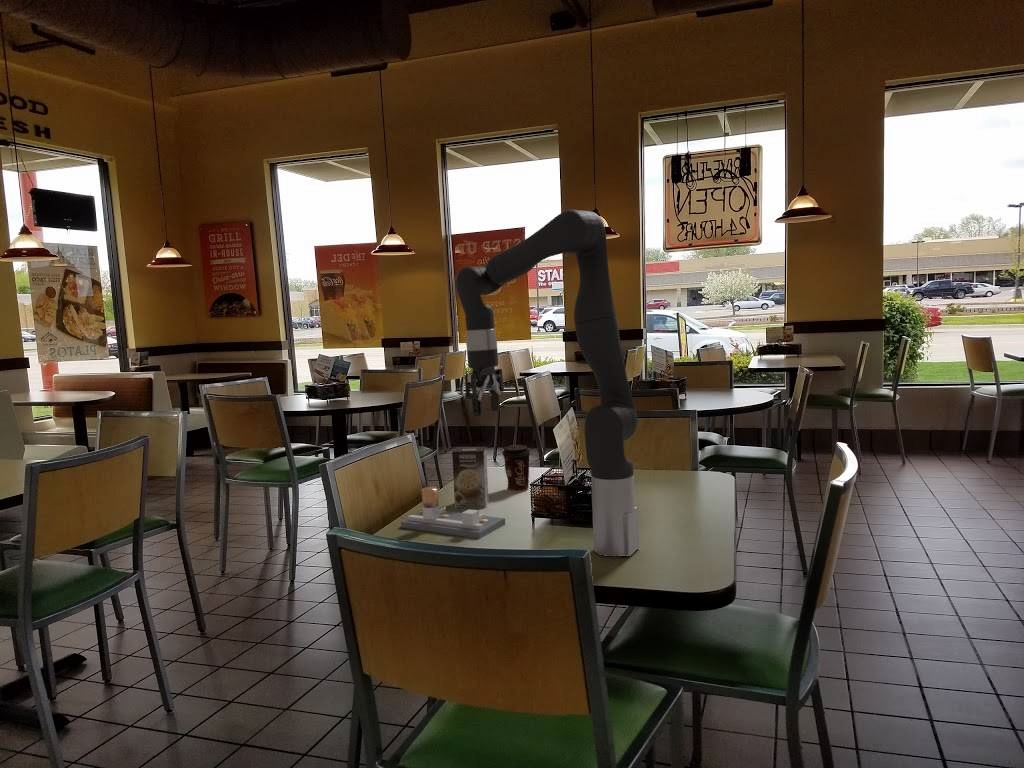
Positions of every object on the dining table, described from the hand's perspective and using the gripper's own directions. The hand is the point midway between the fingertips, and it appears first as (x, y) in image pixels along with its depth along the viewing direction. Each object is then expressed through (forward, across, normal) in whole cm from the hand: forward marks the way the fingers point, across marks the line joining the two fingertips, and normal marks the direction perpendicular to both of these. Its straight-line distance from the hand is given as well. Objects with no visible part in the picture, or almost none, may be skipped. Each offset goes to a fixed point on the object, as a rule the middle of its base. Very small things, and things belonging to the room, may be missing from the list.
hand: (487, 413), depth 180 cm
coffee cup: (+29, +34, +12) cm, 46 cm away
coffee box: (+29, +14, +16) cm, 36 cm away
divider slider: (+26, -5, +15) cm, 30 cm away
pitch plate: (+29, -4, +11) cm, 31 cm away
